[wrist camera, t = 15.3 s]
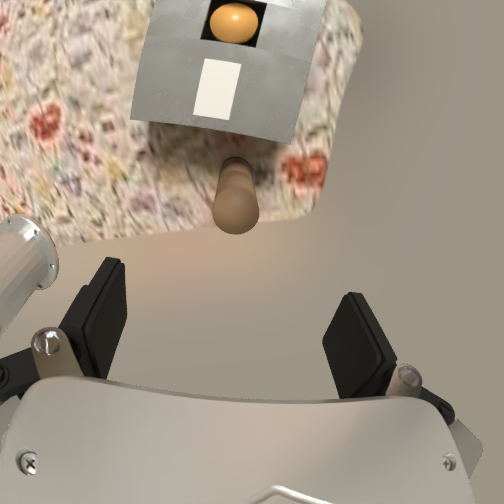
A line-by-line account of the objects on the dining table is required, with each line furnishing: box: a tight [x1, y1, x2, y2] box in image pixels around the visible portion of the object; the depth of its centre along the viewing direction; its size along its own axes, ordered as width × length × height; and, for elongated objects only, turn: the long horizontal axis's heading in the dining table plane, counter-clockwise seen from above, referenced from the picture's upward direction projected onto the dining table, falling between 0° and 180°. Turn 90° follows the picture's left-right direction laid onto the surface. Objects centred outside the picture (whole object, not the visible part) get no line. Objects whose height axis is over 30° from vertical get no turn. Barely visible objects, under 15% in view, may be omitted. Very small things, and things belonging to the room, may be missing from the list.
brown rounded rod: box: [213, 157, 259, 234], centre depth 25 cm, size 3×3×12 cm
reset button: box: [210, 3, 258, 46], centre depth 20 cm, size 4×4×4 cm
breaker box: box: [130, 0, 326, 145], centre depth 21 cm, size 16×14×6 cm
